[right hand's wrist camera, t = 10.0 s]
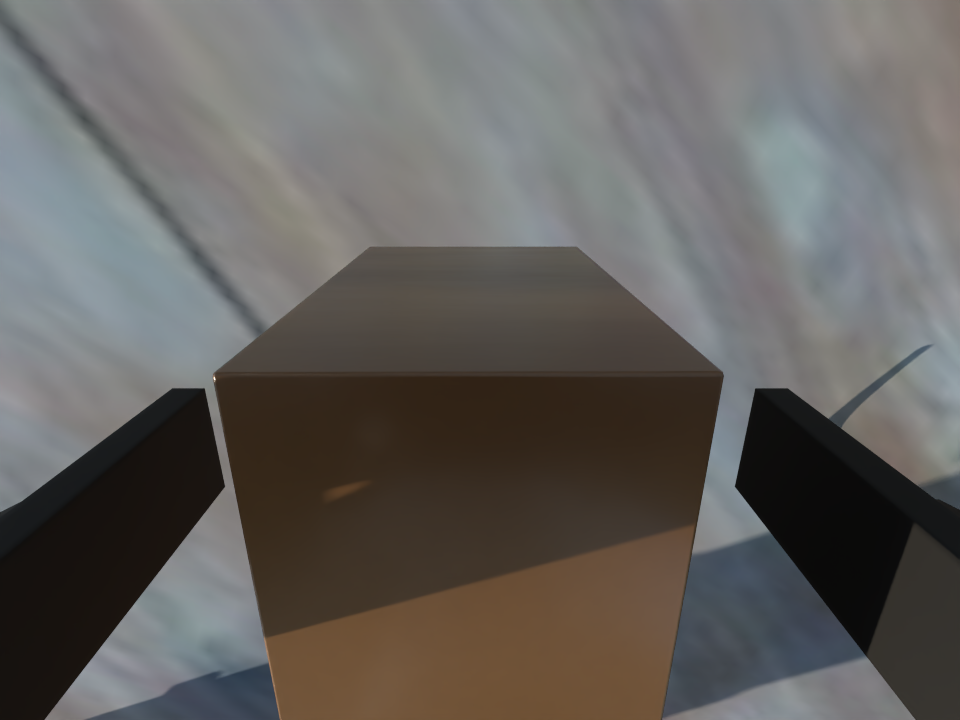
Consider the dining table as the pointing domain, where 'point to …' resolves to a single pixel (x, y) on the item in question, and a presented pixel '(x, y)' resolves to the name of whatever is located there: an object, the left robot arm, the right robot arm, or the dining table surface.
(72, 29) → the dining table surface
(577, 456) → the bar
